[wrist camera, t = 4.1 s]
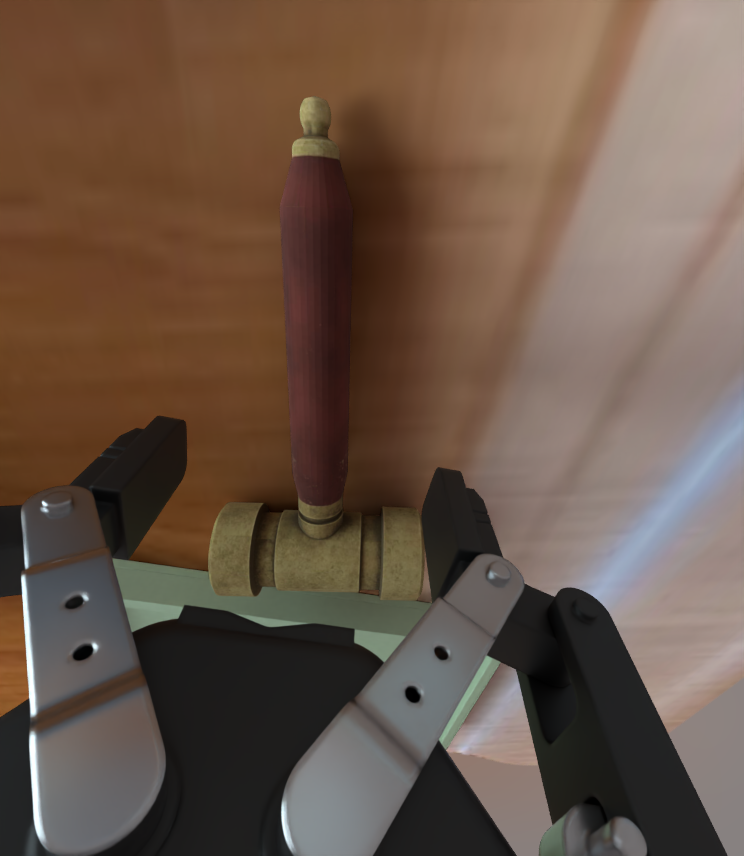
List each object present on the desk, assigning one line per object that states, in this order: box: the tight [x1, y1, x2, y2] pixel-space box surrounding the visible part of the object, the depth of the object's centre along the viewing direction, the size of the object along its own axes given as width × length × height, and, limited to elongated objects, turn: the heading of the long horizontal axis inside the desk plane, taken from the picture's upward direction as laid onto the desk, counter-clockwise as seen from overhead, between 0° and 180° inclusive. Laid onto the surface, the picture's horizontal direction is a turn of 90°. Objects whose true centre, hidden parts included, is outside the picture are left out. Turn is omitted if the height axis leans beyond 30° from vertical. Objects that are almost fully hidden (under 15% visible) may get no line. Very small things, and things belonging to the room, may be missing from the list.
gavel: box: [208, 96, 425, 601], centre depth 18 cm, size 21×5×10 cm
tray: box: [112, 558, 501, 750], centre depth 28 cm, size 26×15×3 cm, turn 78°
